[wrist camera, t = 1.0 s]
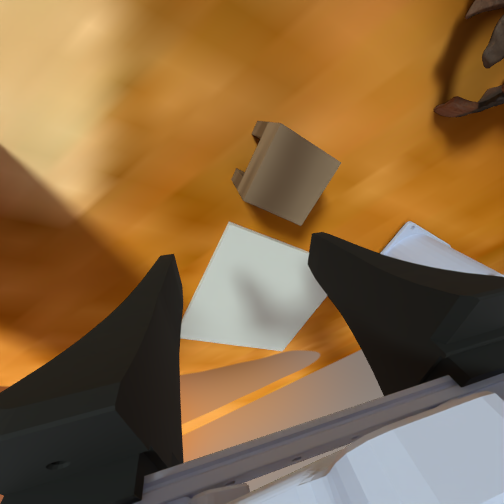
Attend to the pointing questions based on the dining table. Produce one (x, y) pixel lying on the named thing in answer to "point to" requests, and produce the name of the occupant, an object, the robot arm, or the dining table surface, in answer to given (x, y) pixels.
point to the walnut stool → (284, 173)
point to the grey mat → (252, 293)
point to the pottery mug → (497, 49)
